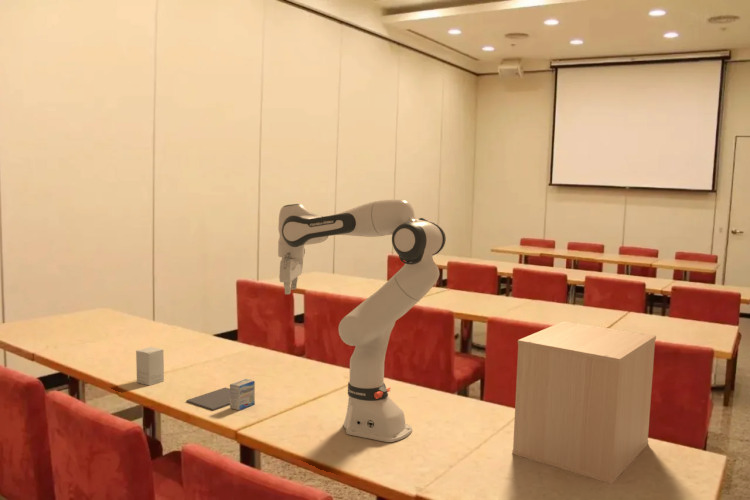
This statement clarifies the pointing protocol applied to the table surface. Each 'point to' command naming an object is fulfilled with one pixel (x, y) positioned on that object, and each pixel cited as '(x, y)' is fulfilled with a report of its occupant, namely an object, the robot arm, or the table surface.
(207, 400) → the mat
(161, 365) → the supplement box
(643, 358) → the cabinet
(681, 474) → the table surface
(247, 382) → the medicine box
